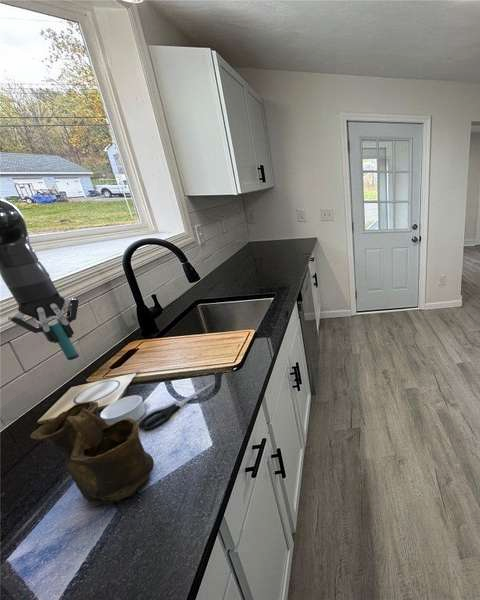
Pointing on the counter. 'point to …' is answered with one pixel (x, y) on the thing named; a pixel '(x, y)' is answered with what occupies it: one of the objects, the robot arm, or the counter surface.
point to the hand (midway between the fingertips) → (62, 339)
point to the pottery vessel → (99, 453)
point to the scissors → (166, 413)
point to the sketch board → (90, 395)
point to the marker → (64, 341)
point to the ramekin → (124, 410)
